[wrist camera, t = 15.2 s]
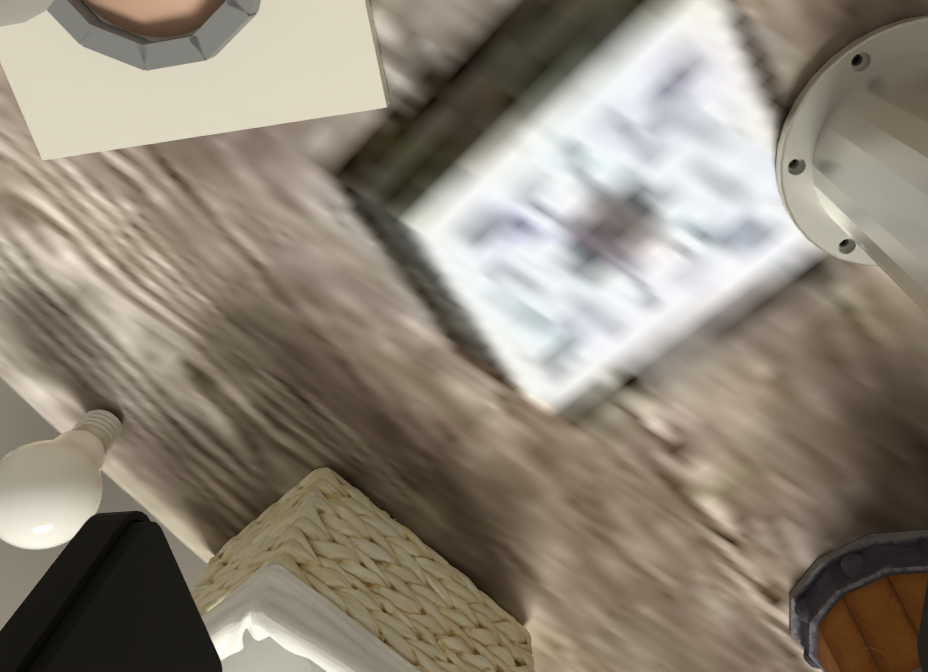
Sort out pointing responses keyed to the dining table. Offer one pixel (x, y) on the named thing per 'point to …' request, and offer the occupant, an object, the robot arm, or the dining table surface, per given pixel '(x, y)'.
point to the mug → (863, 605)
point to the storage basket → (347, 594)
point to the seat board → (187, 68)
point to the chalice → (21, 10)
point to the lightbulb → (55, 483)
